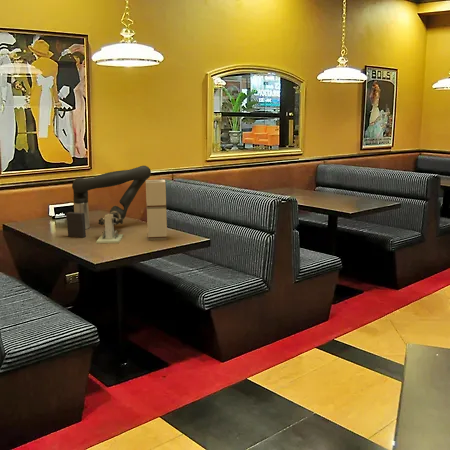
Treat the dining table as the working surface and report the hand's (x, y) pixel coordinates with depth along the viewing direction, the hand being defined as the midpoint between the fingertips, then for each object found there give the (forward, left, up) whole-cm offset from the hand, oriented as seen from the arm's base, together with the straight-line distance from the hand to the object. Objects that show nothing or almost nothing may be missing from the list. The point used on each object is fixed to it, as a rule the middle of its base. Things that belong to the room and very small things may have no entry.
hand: (109, 223), depth 328 cm
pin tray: (0, 0, -10) cm, 10 cm away
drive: (0, 0, -9) cm, 9 cm away
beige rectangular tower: (+28, +3, -10) cm, 30 cm away
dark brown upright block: (-22, +9, -10) cm, 26 cm away
